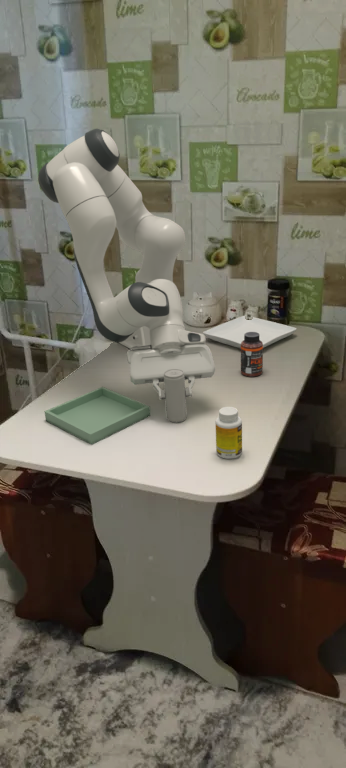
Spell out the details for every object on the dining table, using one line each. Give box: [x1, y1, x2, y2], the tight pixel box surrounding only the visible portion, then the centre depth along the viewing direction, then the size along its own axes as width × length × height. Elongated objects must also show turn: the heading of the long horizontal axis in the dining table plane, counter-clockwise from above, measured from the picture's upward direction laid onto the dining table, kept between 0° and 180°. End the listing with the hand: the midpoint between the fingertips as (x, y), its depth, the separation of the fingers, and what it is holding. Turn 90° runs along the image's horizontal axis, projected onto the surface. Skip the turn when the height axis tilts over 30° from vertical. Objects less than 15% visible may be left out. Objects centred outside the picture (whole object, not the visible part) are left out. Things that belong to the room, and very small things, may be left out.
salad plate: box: [202, 315, 297, 349], centre depth 199 cm, size 21×21×3 cm
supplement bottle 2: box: [240, 332, 264, 378], centre depth 174 cm, size 6×6×11 cm
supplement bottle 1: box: [215, 406, 243, 460], centre depth 137 cm, size 6×6×10 cm
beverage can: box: [163, 369, 187, 424], centre depth 152 cm, size 5×5×12 cm
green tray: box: [44, 386, 151, 445], centre depth 156 cm, size 18×18×3 cm
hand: (175, 397), depth 151 cm, fingers closed on beverage can, 5 cm apart
